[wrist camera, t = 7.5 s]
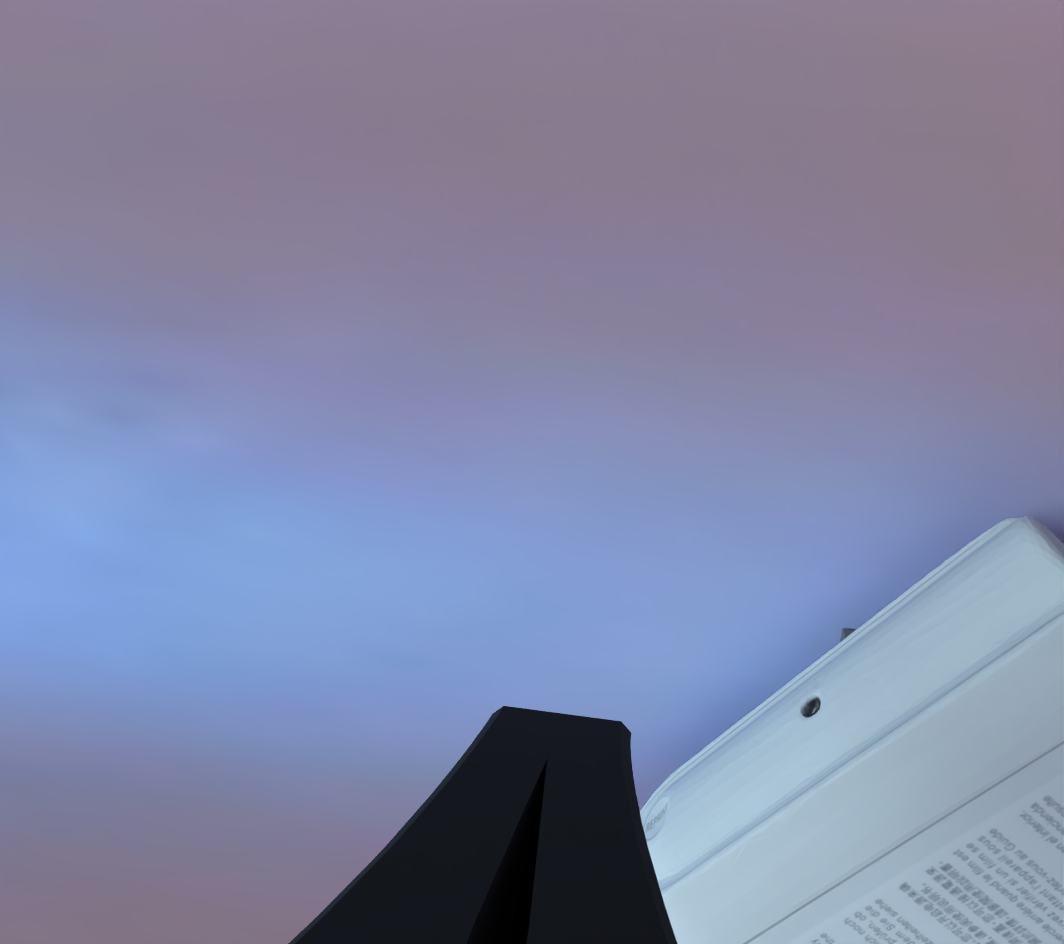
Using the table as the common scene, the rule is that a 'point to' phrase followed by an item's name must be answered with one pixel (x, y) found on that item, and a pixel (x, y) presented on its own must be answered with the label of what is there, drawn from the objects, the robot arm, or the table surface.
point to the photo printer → (891, 775)
